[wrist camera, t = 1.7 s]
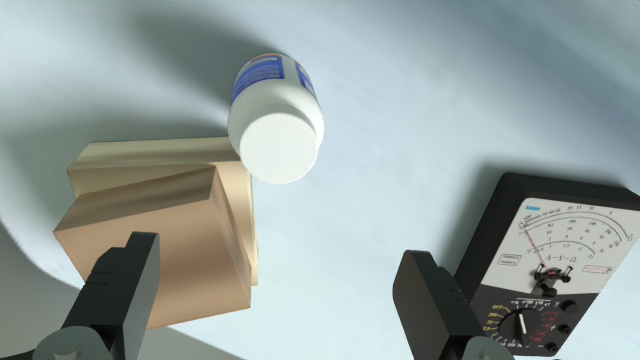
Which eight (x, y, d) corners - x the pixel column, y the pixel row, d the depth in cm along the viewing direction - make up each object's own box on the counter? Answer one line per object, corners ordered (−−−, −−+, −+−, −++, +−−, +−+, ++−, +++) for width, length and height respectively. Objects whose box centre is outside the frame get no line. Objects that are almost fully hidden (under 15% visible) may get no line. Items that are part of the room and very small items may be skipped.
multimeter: (427, 325, 44) (444, 367, 40) (500, 168, 35) (533, 200, 31) (535, 331, 47) (562, 371, 42) (628, 186, 38) (675, 217, 33)
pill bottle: (224, 112, 29) (208, 181, 21) (247, 38, 27) (239, 83, 19) (296, 135, 31) (308, 208, 22) (324, 67, 28) (348, 120, 20)
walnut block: (79, 194, 27) (52, 232, 23) (216, 165, 27) (208, 199, 23) (135, 292, 31) (119, 335, 28) (251, 267, 31) (250, 307, 28)
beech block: (89, 142, 29) (66, 169, 26) (246, 135, 30) (244, 160, 27) (126, 261, 35) (111, 297, 31) (258, 252, 36) (257, 285, 32)
